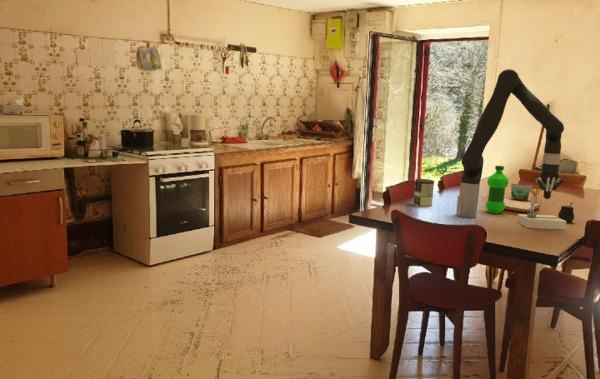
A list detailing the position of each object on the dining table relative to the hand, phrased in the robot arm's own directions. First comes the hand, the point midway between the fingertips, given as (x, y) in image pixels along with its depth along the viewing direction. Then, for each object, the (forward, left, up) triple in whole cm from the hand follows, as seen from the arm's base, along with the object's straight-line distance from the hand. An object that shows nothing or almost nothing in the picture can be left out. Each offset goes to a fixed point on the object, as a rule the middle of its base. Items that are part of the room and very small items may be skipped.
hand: (546, 198), depth 248 cm
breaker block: (-1, 0, -13) cm, 13 cm away
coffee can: (-49, +38, -14) cm, 64 cm away
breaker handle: (-6, 0, -9) cm, 11 cm away
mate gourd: (+17, +11, -14) cm, 25 cm away
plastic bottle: (-13, +27, -14) cm, 33 cm away
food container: (+18, +66, -14) cm, 70 cm away
